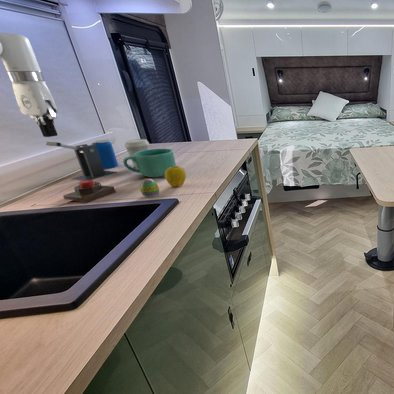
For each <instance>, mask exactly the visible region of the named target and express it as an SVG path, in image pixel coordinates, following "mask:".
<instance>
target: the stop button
mask: <svg viewBox="0 0 394 394" xmlns="http://www.w3.org/2000/svg"><path fill="white" fill-rule="evenodd" d="M94 182H95V181H94V179H93V180H79V182H78V185H79V186H80V188H86V187H91V186H94V185H95V184H94Z"/></svg>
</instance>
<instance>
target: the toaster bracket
mask: <svg viewBox="0 0 394 394" xmlns="http://www.w3.org/2000/svg"><path fill="white" fill-rule="evenodd" d="M73 146H74V147H79V148H80V146H83V147H81V149H82V151H83V153H79V150H74V149H73V150H74V154H75V156H76V159H77V161H78V164H79V166H80V169H81V172H82V175H78V176H74V177H71V178H70V180H77V181H84V180H93V181H94V180H96V179H100V178H103V177H106V176H110V175H112V174H117V173H118V171H114V170H113V171H111V170H105V169H103V166H102V163H101V160H100V157H99V154H98V151H97V148H96V145H92V144H89V145H88V144H86V143H83V144H80V145H73Z"/></svg>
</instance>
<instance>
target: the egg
mask: <svg viewBox="0 0 394 394" xmlns="http://www.w3.org/2000/svg"><path fill="white" fill-rule="evenodd" d="M139 190H140V193H141V195H142V196H143V197H144V198H147V199H151V198H156V197H157V196H159V193H160V188H159V185H158V184H157V182H156V181H155V180H153V178H144V179H143V180H142V181H141V183H140V189H139Z"/></svg>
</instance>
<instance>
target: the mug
mask: <svg viewBox="0 0 394 394" xmlns="http://www.w3.org/2000/svg"><path fill="white" fill-rule="evenodd" d="M134 156H135V157H132V156H130V155H128V156H126V157H124V158H123V161H122V163H123V165H124V167H125V168H126V169H127V170H129V171H131V172H133V173H137V174H141V175H142V176H145V177H148V178H150V179H159V178H165V171H166V169H167V168H169V167H172V166H177V165H176V164H177V163H176V159H175V155H174V151H173V150H172V149H171V148H151V149H149V150H145V151H140V152H137V153H135V154H134ZM129 160H131V161H132V160H134V161H135V162H136V163H137V167H138V168H135V167H132V166H130V165H129V163H128V161H129Z"/></svg>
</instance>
